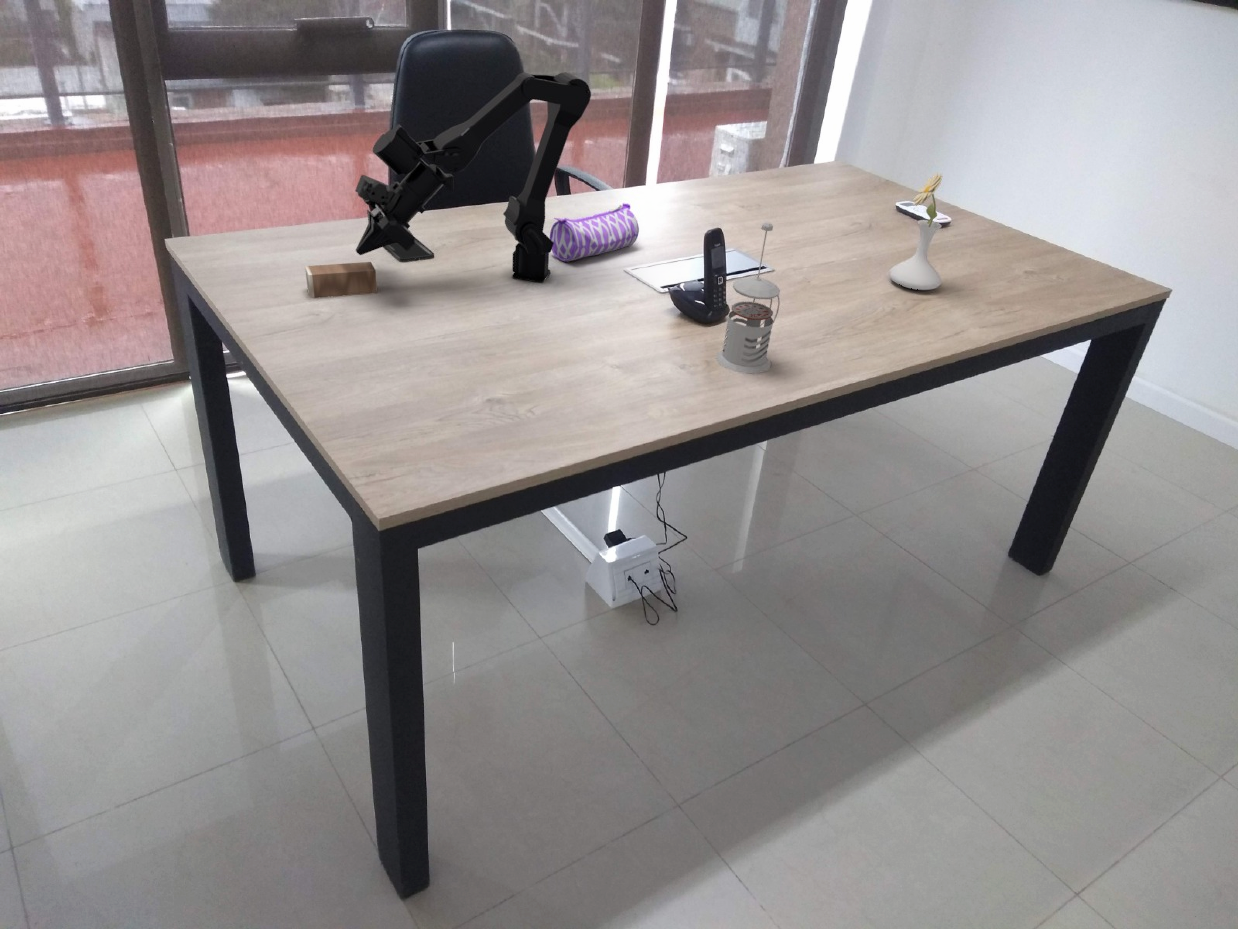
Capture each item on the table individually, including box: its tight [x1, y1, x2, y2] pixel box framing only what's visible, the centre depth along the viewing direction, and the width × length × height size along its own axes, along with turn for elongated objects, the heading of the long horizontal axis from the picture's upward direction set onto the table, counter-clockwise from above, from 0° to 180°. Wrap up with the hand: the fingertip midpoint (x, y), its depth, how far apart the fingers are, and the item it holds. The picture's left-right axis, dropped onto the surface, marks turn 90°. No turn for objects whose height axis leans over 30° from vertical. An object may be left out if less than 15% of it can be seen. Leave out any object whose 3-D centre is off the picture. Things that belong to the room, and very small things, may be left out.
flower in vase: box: [888, 172, 943, 291], centre depth 194 cm, size 13×11×25 cm
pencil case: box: [549, 202, 640, 262], centre depth 199 cm, size 22×9×10 cm, turn 139°
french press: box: [715, 221, 781, 374], centre depth 155 cm, size 10×12×25 cm
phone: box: [382, 236, 435, 263], centre depth 193 cm, size 8×1×15 cm
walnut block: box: [304, 261, 378, 299], centre depth 170 cm, size 4×4×12 cm
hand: (357, 252), depth 169 cm, fingers closed
